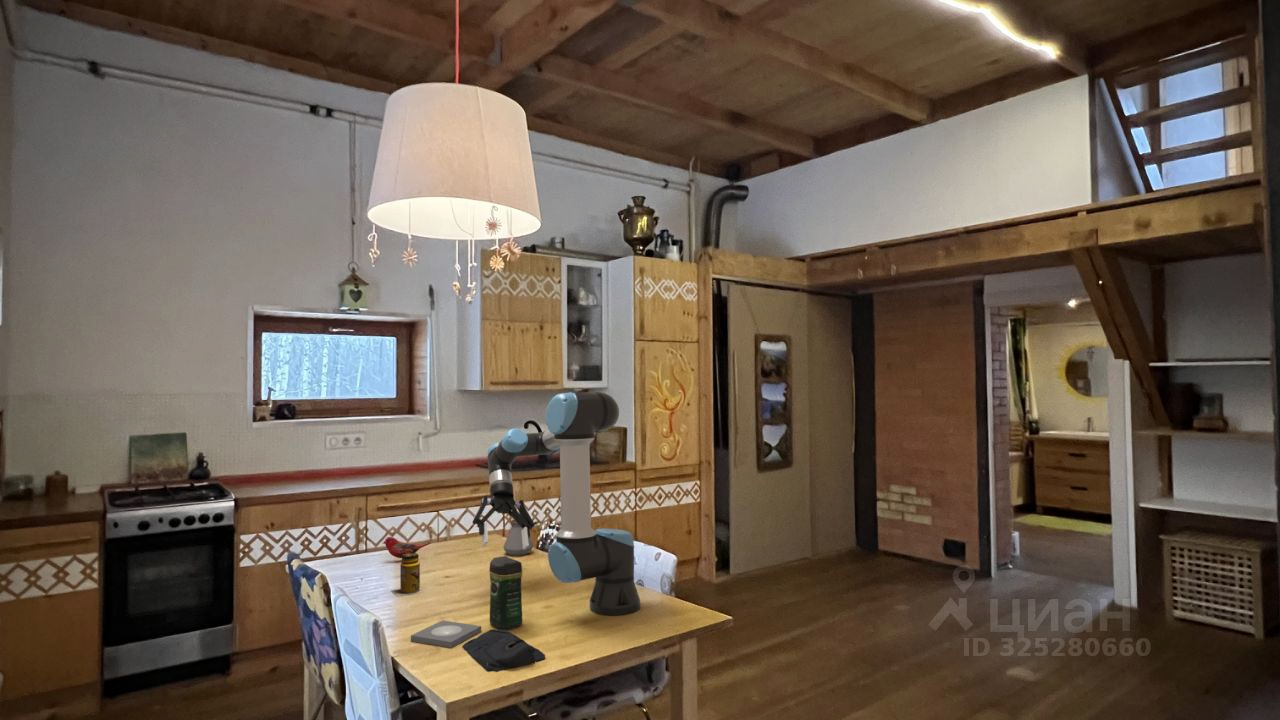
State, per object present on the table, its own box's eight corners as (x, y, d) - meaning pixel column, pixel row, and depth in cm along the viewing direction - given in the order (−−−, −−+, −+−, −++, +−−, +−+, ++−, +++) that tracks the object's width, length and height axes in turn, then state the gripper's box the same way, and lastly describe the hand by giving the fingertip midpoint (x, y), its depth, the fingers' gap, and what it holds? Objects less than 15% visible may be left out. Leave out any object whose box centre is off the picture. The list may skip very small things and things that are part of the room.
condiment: (423, 592, 237) (423, 555, 238) (397, 596, 233) (397, 558, 233) (416, 587, 244) (416, 550, 244) (390, 591, 239) (390, 554, 239)
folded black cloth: (513, 636, 197) (513, 618, 198) (549, 662, 179) (549, 642, 179) (458, 648, 189) (458, 629, 189) (489, 676, 171) (489, 656, 171)
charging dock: (481, 631, 200) (481, 626, 200) (451, 647, 188) (451, 641, 188) (442, 625, 205) (442, 620, 205) (410, 641, 193) (410, 635, 193)
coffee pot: (498, 553, 289) (497, 515, 290) (523, 548, 297) (523, 511, 297) (526, 563, 273) (526, 523, 273) (552, 558, 280) (552, 519, 281)
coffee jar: (526, 626, 204) (526, 559, 204) (500, 632, 199) (500, 563, 200) (510, 617, 212) (510, 552, 212) (485, 623, 207) (485, 556, 207)
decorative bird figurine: (382, 563, 275) (382, 536, 275) (430, 558, 282) (430, 532, 283) (382, 565, 272) (382, 538, 273) (431, 559, 280) (431, 533, 280)
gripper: (531, 496, 250) (537, 554, 237) (460, 488, 238) (463, 548, 224) (540, 485, 246) (547, 543, 232) (469, 476, 233) (472, 536, 220)
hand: (505, 546), depth 228 cm, fingers open, 13 cm apart
